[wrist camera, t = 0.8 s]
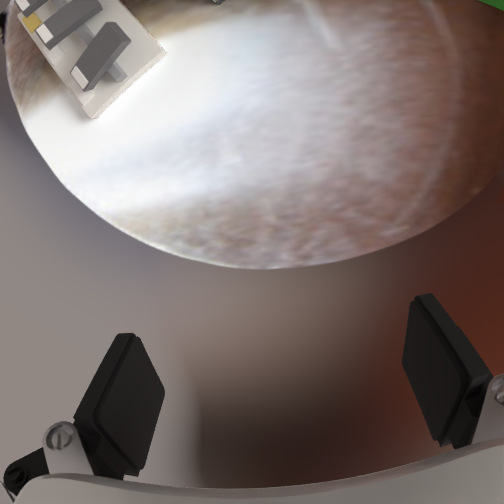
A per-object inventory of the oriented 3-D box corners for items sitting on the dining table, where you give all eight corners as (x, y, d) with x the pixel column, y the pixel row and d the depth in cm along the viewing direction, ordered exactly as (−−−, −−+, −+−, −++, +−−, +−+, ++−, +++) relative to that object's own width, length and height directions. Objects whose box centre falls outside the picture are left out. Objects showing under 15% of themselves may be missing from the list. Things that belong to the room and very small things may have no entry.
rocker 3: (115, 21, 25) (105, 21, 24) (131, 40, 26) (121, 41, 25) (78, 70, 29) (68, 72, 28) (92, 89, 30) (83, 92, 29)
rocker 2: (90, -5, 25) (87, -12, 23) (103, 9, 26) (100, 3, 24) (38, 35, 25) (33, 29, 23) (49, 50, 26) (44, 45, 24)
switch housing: (80, -40, 24) (68, -49, 20) (167, 53, 31) (158, 47, 28) (24, 18, 27) (9, 14, 24) (97, 117, 34) (83, 119, 31)
